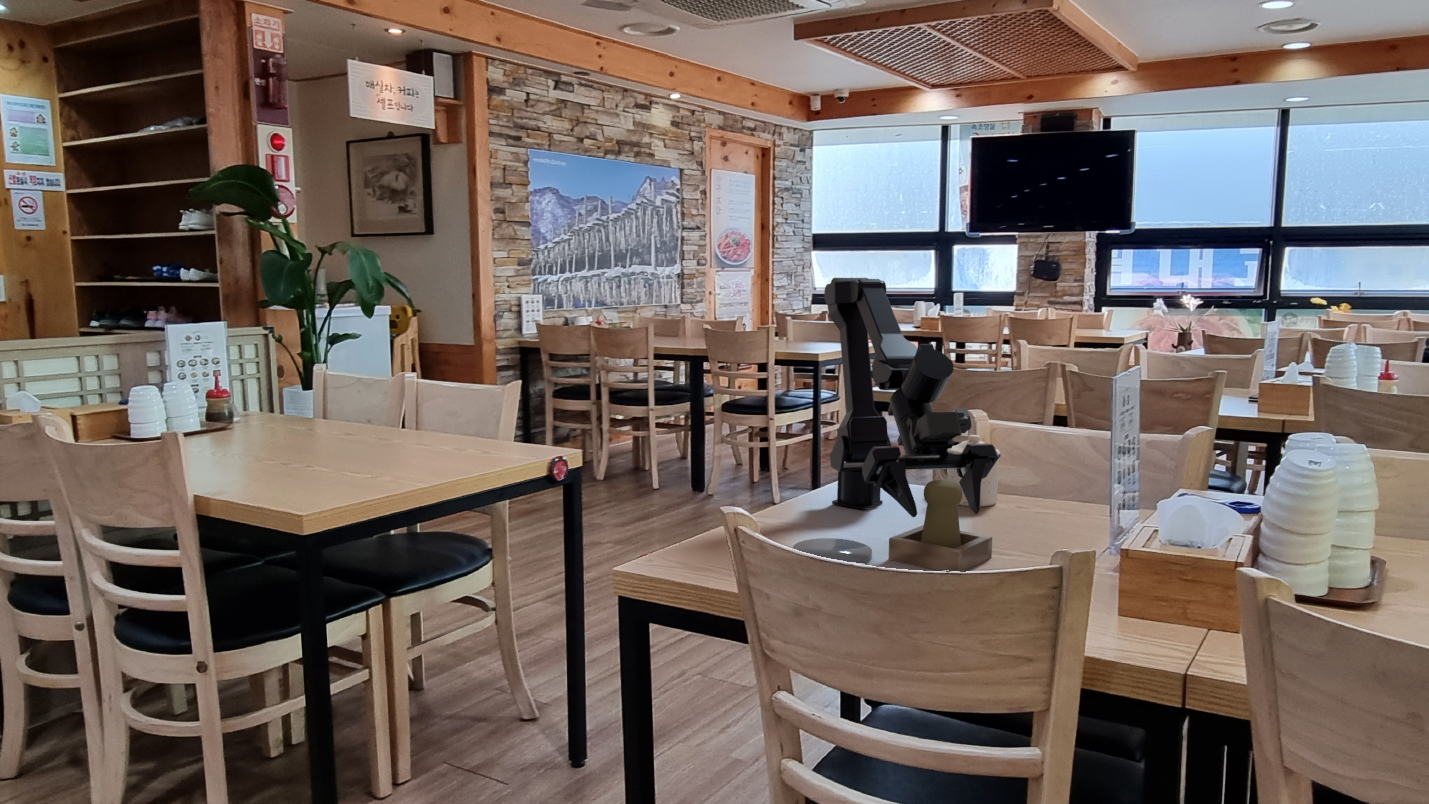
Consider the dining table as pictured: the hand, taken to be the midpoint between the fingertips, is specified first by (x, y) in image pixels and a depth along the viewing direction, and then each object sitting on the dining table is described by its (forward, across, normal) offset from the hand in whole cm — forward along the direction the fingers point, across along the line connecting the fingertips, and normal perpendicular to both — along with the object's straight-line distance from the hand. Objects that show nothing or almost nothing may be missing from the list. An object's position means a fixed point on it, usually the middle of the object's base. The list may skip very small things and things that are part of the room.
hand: (946, 514), depth 138 cm
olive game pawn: (+4, 0, +6) cm, 7 cm away
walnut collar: (+4, 0, +6) cm, 7 cm away
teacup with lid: (-20, +20, +29) cm, 40 cm away
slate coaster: (+1, -14, +8) cm, 17 cm away
